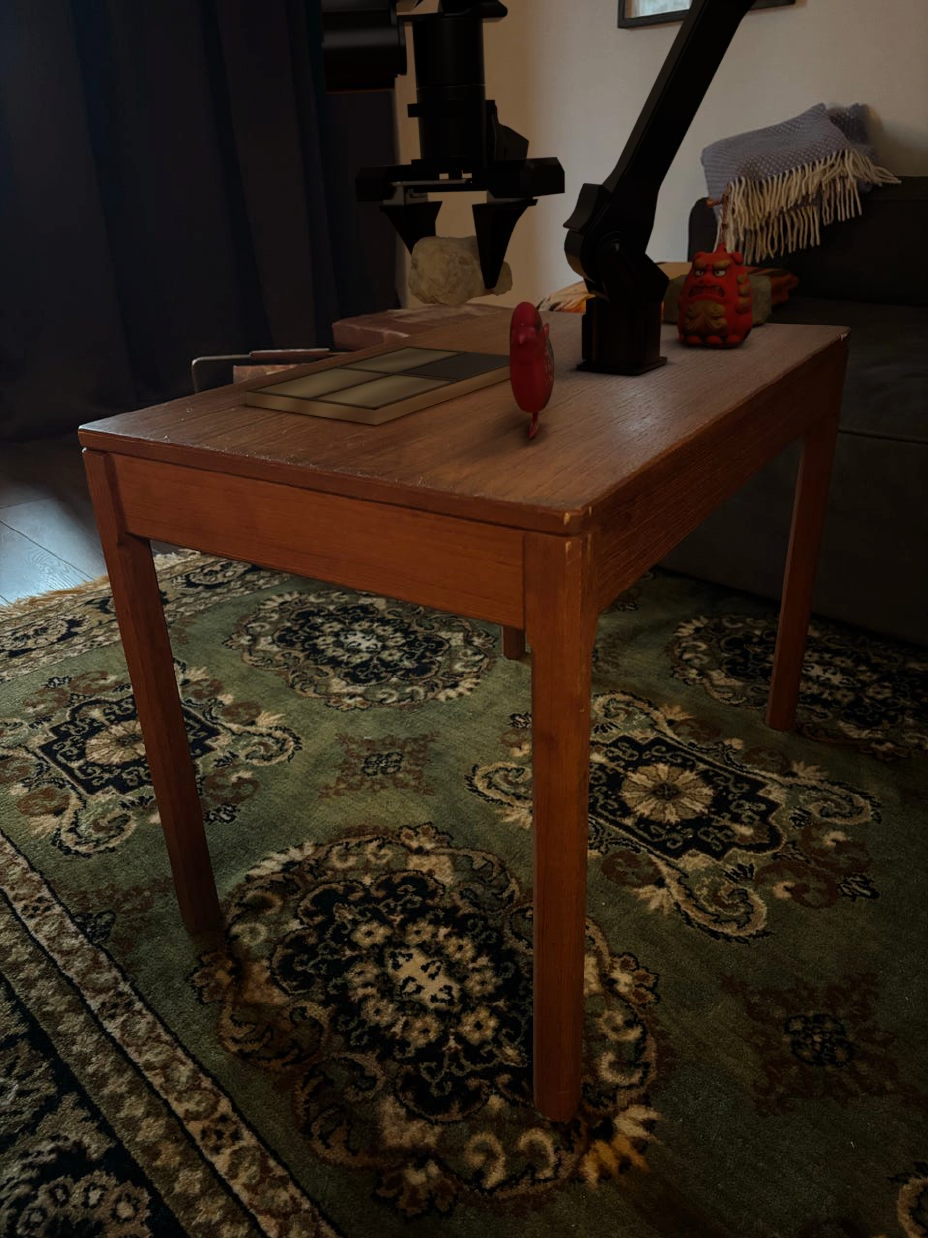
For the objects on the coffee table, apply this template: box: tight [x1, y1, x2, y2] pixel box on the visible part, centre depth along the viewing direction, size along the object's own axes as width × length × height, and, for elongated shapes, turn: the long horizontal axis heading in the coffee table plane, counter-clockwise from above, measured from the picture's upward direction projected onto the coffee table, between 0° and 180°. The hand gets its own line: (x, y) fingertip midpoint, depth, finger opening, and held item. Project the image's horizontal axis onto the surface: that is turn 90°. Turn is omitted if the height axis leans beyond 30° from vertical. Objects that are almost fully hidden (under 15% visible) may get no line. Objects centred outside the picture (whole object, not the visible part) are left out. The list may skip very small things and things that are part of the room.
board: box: [245, 345, 510, 426], centre depth 87 cm, size 15×22×1 cm
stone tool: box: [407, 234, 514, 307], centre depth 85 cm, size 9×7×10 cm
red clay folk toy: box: [676, 182, 754, 348], centre depth 96 cm, size 8×7×15 cm
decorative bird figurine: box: [508, 301, 555, 440], centre depth 71 cm, size 3×18×10 cm, turn 170°
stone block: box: [662, 273, 773, 325], centre depth 109 cm, size 6×12×5 cm, turn 57°
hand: (461, 287), depth 86 cm, fingers closed on stone tool, 6 cm apart
